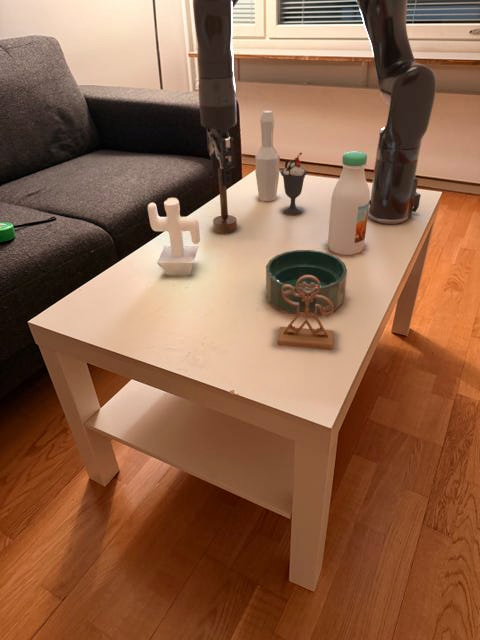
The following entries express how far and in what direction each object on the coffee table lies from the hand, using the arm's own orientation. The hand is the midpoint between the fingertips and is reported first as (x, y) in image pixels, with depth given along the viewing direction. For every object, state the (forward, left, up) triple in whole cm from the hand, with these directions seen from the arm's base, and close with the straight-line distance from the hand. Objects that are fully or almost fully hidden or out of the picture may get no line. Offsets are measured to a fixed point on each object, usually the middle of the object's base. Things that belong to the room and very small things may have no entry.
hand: (221, 179), depth 104 cm
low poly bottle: (-16, -15, -12) cm, 25 cm away
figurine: (+14, +16, -12) cm, 24 cm away
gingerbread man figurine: (-1, +46, -12) cm, 48 cm away
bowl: (-6, +34, -12) cm, 37 cm away
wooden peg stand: (0, 0, -12) cm, 12 cm away
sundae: (-19, -4, -12) cm, 23 cm away
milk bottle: (-22, +19, -12) cm, 32 cm away
